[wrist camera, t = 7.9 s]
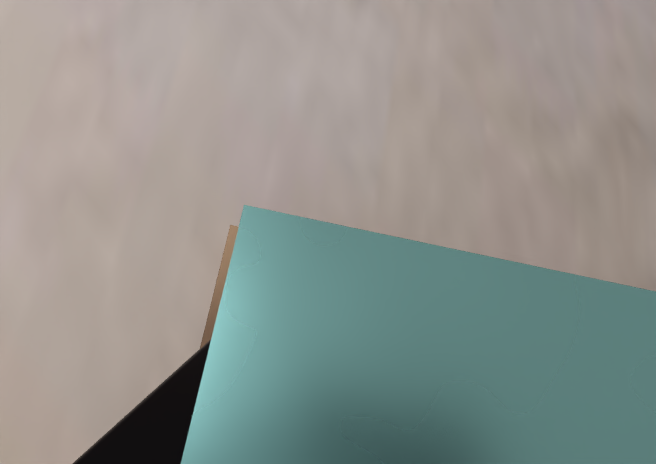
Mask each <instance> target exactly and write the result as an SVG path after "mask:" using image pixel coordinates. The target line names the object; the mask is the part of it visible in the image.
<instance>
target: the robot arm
mask: <svg viewBox="0 0 656 464" xmlns="http://www.w3.org/2000/svg"><path fill="white" fill-rule="evenodd" d="M210 342H211V340H209V341H208V342H207V343H206V344H205V345H204V346H203V347H202V348H201V349H199V350H198V351H197V352H196V353H195V354H194V355H193V356H192V357H191V358H189V359H188V360H187V361H186V362H185V363H184V364H183V365H182V366H181V367H179V368H178V369H177V370H176V371H175V372H174V373H173V374H172V375H171V376H169V377H168V378H167V379H166V380H165V381H164V382H163V383H162V384H161V385H159V386H158V387H157V388H156V389H155V390H154V391H153V392H152V393H151V394H149V395H148V396H147V397H146V398H145V399H144V400H143V401H142V402H141V403H139V404H138V405H137V406H136V407H135V408H134V409H133V410H132V411H131V412H129V413H128V414H127V415H126V416H125V417H124V418H123V419H122V420H120V421H119V422H118V423H117V424H116V425H115V426H114V427H113V428H112V429H110V430H109V431H108V432H107V433H106V434H105V435H104V436H103V437H102V438H100V439H99V440H98V441H97V442H96V443H95V444H94V445H93V446H92V447H90V448H89V449H88V450H87V451H86V452H85V453H84V454H83V455H82V456H80V457H79V458H78V459H77V460H76V461H75V462H74V463H73V464H181V461H182V457H183V452H184V448H185V444H186V440H187V436H188V432H189V428H190V424H191V420H192V416H193V412H194V408H195V403H196V399H197V395H198V391H199V387H200V383H201V379H202V375H203V371H204V367H205V363H206V359H207V355H208V350H209V346H210Z"/></svg>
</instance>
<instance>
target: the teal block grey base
mask: <svg viewBox="0 0 656 464" xmlns="http://www.w3.org/2000/svg"><path fill="white" fill-rule="evenodd" d="M181 464H656V292H655V291H650V290H646V289H641V288H636V287H631V286H627V285H622V284H617V283H612V282H608V281H603V280H598V279H593V278H589V277H584V276H579V275H574V274H570V273H565V272H560V271H556V270H551V269H546V268H541V267H537V266H532V265H527V264H522V263H518V262H513V261H508V260H503V259H499V258H494V257H489V256H484V255H480V254H475V253H470V252H465V251H461V250H456V249H451V248H446V247H442V246H437V245H432V244H427V243H423V242H418V241H413V240H408V239H404V238H399V237H394V236H389V235H385V234H380V233H375V232H370V231H366V230H361V229H356V228H351V227H347V226H342V225H337V224H332V223H328V222H323V221H318V220H313V219H309V218H304V217H299V216H294V215H290V214H285V213H280V212H275V211H271V210H266V209H261V208H256V207H252V206H247V205H244V208H243V212H242V216H241V220H240V224H239V228H238V232H237V236H236V240H235V244H234V248H233V252H232V257H231V261H230V265H229V269H228V273H227V277H226V281H225V285H224V289H223V293H222V297H221V301H220V306H219V310H218V314H217V318H216V322H215V326H214V330H213V334H212V338H211V342H210V346H209V350H208V355H207V359H206V363H205V367H204V371H203V375H202V379H201V383H200V387H199V391H198V395H197V399H196V403H195V408H194V412H193V416H192V420H191V424H190V428H189V432H188V436H187V440H186V444H185V448H184V452H183V457H182V461H181Z"/></svg>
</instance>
